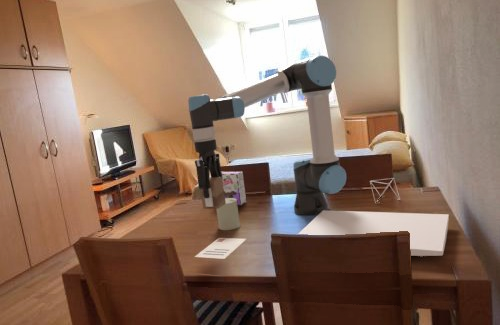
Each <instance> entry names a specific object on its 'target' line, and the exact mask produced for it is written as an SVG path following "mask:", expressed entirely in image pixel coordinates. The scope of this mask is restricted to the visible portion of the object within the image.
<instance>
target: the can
mask: <svg viewBox="0 0 500 325" xmlns="http://www.w3.org/2000/svg"><path fill="white" fill-rule="evenodd" d="M225 202H226V204H224V205H223V206H221V207H220V208H218V209H216V215H217V222H218V224H217V225H218V229H219V230H221V231H231V230H235V229H240V228H241V224H240V217H239V210H238V209H239V208H238V205H237V199H235V198H225Z"/></svg>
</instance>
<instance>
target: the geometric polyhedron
mask: <svg viewBox="0 0 500 325" xmlns="http://www.w3.org/2000/svg"><path fill="white" fill-rule="evenodd" d="M391 179H392V180H391ZM383 180H386V178H383V179H382V178H381V179H379V181H380V182H379V181H377V179H373V180H370V181H369V183H370V188H371V191H372V195H373V199H374V203H375V204H377V203H376V202H378V201H379V200H378V199H379V198H380V197H381V196H383V195H384V193H385V192H386V191H387V189H388V187H390V189H391V190H392V191H393V193H394V194H395V196H396V197H397V200H400V201H401V197H400V194H399V191H398V190H399V189H398V187H397V184H396V180H395V177H391V178H388V180H390V182H388V183H387V182H383V184H384V185H387V186H386V187H385V189H384V190H383V191H382V193H381V194H380V192H379V191H378V190H377V188H376V187H375V185H374V184H373V182H374V183H378V184H382V182H381V181H383ZM393 181H394V184H395V185H394V186H395V188H396V192H397V193H396V192H395V190H394V189H393V187H392V186H391V183H392V182H393ZM372 186H373V187H372ZM373 188H374V190H376V192H377V194H378V195H379V197H378V199H377V200H376V198H375V193H374V191H373ZM381 198H382V197H381ZM381 198H380V199H381ZM378 204H381V203H380V202H378Z"/></svg>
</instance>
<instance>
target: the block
mask: <svg viewBox="0 0 500 325" xmlns="http://www.w3.org/2000/svg"><path fill="white" fill-rule="evenodd" d="M209 188H211V192H212V199H213V207H206V204H205V198H204V192H203V189H200V195H201V202H202V209H204V210H205V209H206V210H207V209H209V210H215V209H218V208H220V207H221V206H223V205H224V204H226V202H225V195H224V188H223V181H222V177H212V176H209Z"/></svg>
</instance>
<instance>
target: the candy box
mask: <svg viewBox="0 0 500 325" xmlns="http://www.w3.org/2000/svg"><path fill="white" fill-rule="evenodd" d="M221 172H222V177H223V179H222V181H223V188H224V195H225V198H235V199H237V206H242V205H244V204H246V203H247V196H246V188H245V180H244V174H243V171H221ZM219 177H220V176H219Z"/></svg>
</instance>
